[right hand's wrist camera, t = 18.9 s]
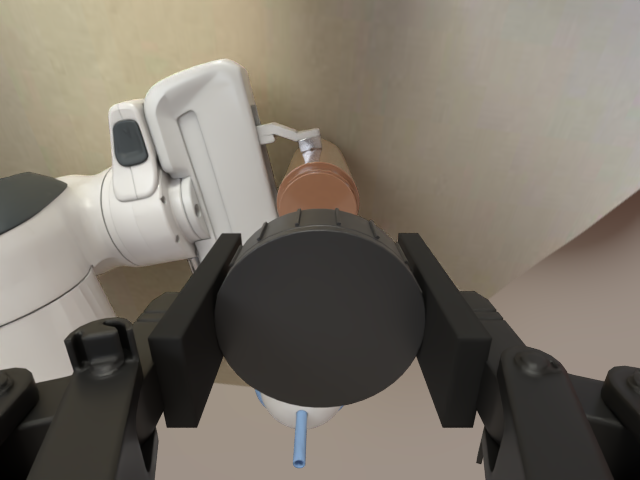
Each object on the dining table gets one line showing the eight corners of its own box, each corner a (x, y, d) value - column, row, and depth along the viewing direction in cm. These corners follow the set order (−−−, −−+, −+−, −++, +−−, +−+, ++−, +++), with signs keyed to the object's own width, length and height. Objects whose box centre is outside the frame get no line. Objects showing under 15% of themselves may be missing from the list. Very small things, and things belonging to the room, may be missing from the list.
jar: (356, 171, 36) (380, 219, 22) (314, 203, 37) (310, 268, 23) (323, 126, 34) (325, 147, 20) (280, 162, 36) (254, 204, 22)
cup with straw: (325, 360, 44) (329, 518, 28) (256, 334, 43) (217, 485, 26) (358, 302, 41) (385, 441, 25) (286, 273, 40) (262, 399, 23)
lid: (202, 226, 11) (179, 251, 10) (400, 187, 11) (417, 205, 9) (255, 378, 14) (245, 422, 12) (421, 351, 13) (437, 392, 11)
